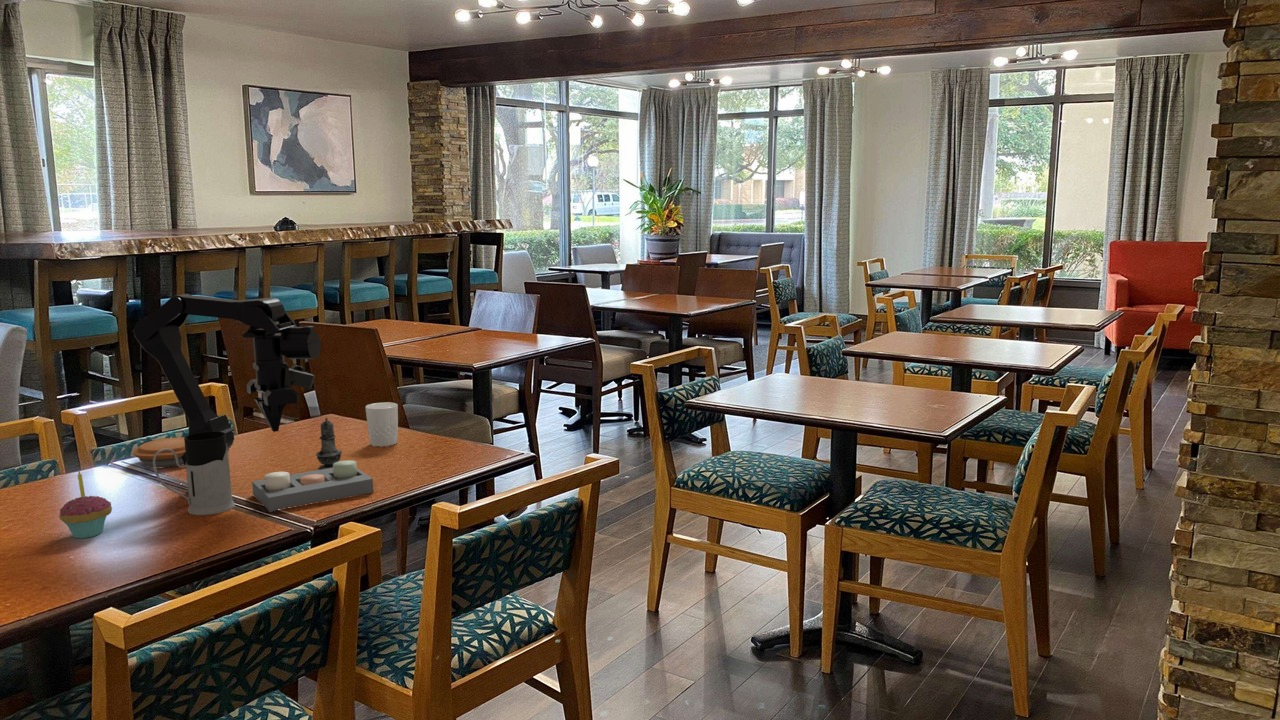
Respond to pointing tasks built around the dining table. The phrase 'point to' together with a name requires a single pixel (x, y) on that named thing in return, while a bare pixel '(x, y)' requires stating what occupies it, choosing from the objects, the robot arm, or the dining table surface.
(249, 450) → the dining table surface
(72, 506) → the cupcake
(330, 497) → the console
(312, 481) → the terracotta button
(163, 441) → the pie
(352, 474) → the sage button
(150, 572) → the dining table surface
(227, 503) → the grey handled cylinder
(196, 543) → the dining table surface
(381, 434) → the white cup
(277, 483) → the cream button
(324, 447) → the grey chess piece
